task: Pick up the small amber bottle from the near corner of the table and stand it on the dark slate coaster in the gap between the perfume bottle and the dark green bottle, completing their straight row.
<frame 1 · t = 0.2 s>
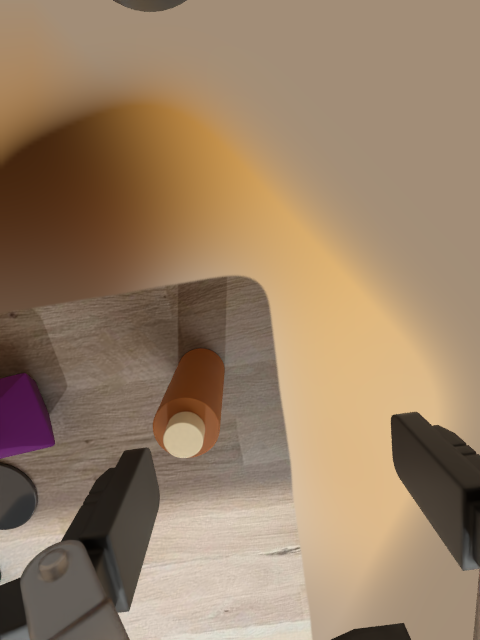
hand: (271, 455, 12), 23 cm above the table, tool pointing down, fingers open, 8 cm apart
amber bottle: (201, 370, 35), on the table
perfume bottle: (24, 402, 36), on the table
slate coaster: (0, 495, 38), on the table
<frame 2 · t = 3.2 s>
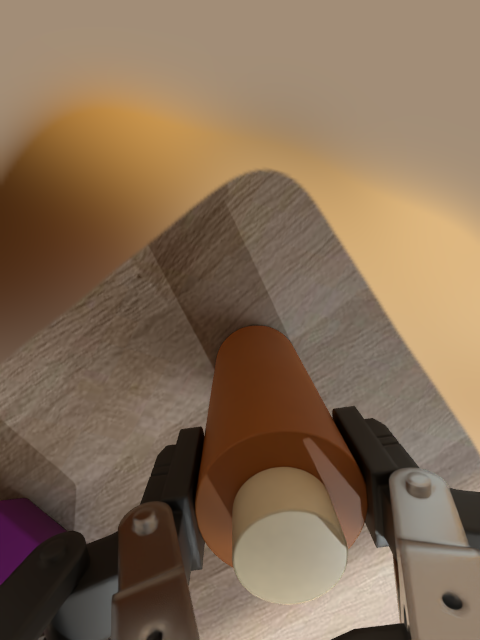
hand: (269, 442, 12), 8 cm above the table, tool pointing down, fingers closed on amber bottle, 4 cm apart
amber bottle: (256, 364, 20), on the table, touching gripper
perfume bottle: (31, 533, 23), on the table
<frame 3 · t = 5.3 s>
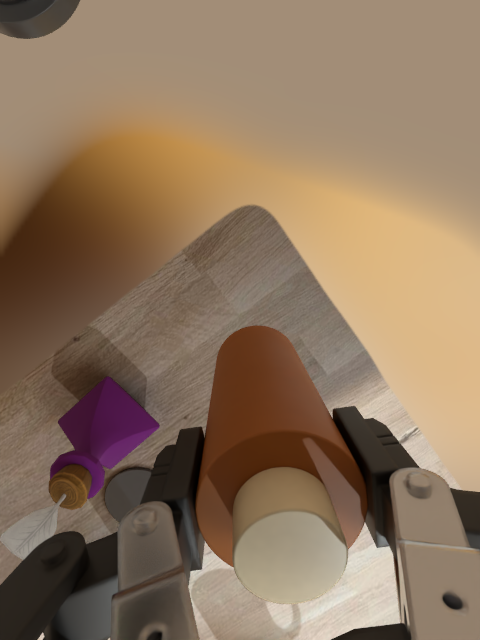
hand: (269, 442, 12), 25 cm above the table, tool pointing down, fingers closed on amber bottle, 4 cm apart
amber bottle: (256, 364, 20), point 17 cm above the table, touching gripper
perfume bottle: (119, 408, 40), on the table
slate coaster: (139, 497, 42), on the table
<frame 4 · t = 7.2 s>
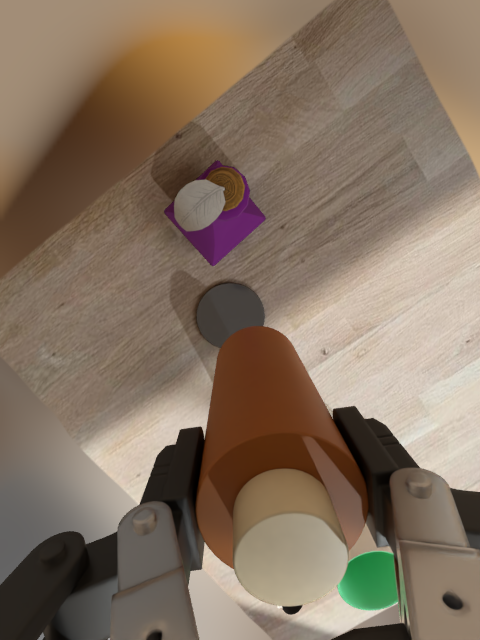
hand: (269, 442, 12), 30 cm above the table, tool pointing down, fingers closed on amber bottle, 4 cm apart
amber bottle: (257, 365, 20), point 22 cm above the table, touching gripper
perfume bottle: (216, 216, 39), on the table
mug: (356, 499, 48), on the table
watch: (283, 577, 51), on the table
slate coaster: (230, 316, 42), on the table
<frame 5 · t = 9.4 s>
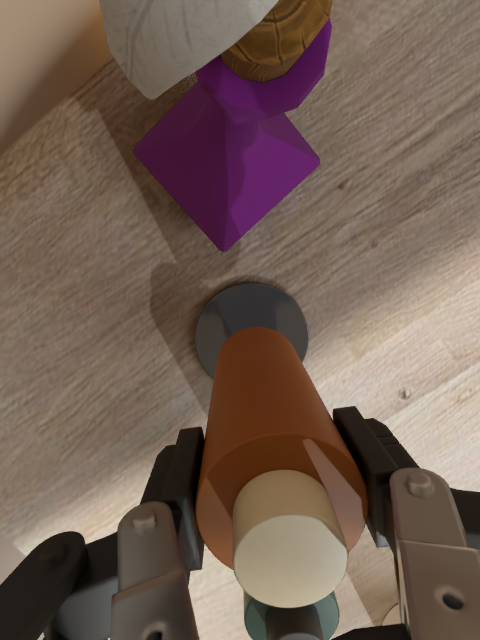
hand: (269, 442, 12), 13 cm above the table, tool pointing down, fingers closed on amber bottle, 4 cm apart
amber bottle: (257, 365, 20), point 5 cm above the table, touching gripper
perfume bottle: (228, 168, 23), on the table
green bottle: (270, 471, 28), on the table
slate coaster: (251, 338, 25), on the table
when the fingers open (8 cm above the table, at t = 11.0 s): amber bottle stays where it is, resting on slate coaster.
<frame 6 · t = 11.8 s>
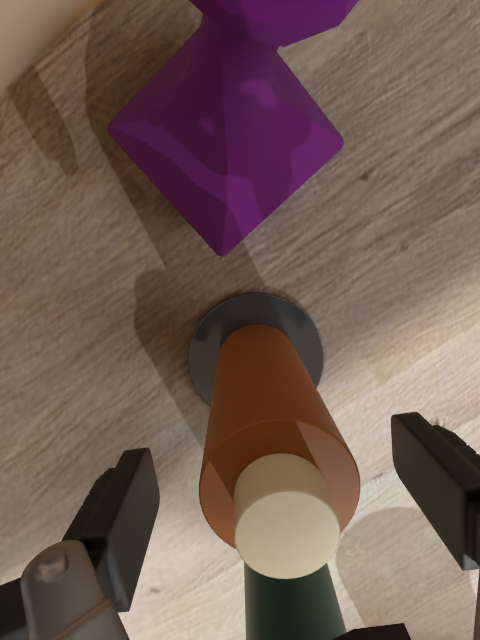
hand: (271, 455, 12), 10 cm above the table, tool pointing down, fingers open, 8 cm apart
amber bottle: (257, 362, 21), resting on slate coaster
perfume bottle: (228, 155, 19), on the table
green bottle: (277, 514, 24), on the table
slate coaster: (256, 359, 21), on the table
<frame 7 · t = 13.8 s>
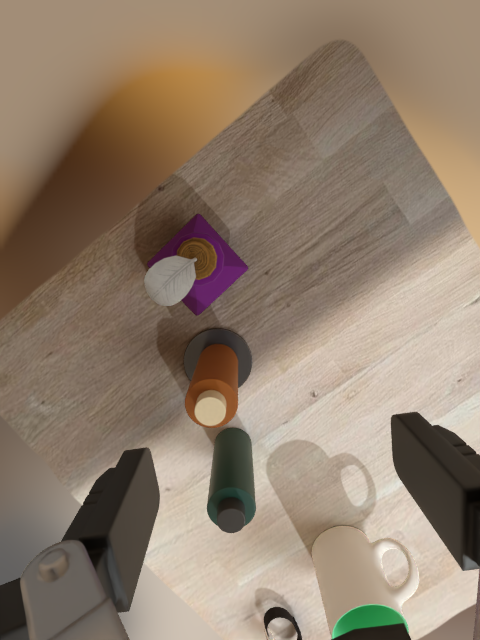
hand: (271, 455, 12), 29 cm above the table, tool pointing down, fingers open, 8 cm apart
amber bottle: (218, 362, 41), resting on slate coaster
perfume bottle: (201, 264, 40), on the table
mug: (352, 541, 47), on the table
green bottle: (233, 444, 44), on the table
watch: (281, 621, 50), on the table
slate coaster: (218, 361, 42), on the table
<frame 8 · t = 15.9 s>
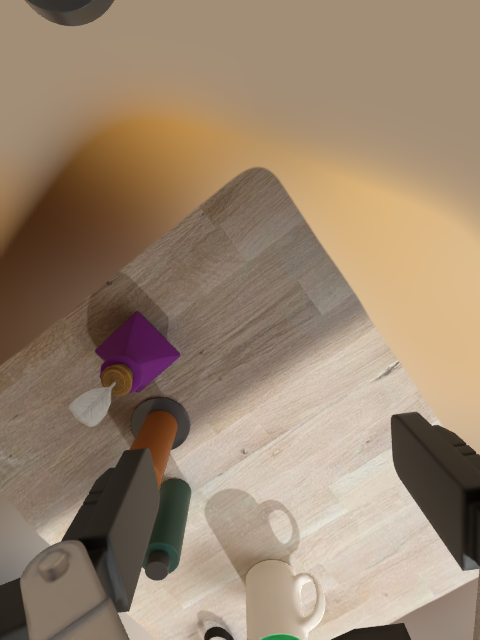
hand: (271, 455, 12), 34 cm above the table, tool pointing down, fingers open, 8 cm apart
amber bottle: (160, 425, 48), resting on slate coaster
perfume bottle: (144, 344, 46), on the table
mug: (280, 573, 55), on the table
green bottle: (175, 492, 51), on the table
watch: (221, 638, 58), on the table
slate coaster: (161, 424, 49), on the table
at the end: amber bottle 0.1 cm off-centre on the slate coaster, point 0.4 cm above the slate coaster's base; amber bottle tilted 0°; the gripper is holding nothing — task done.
